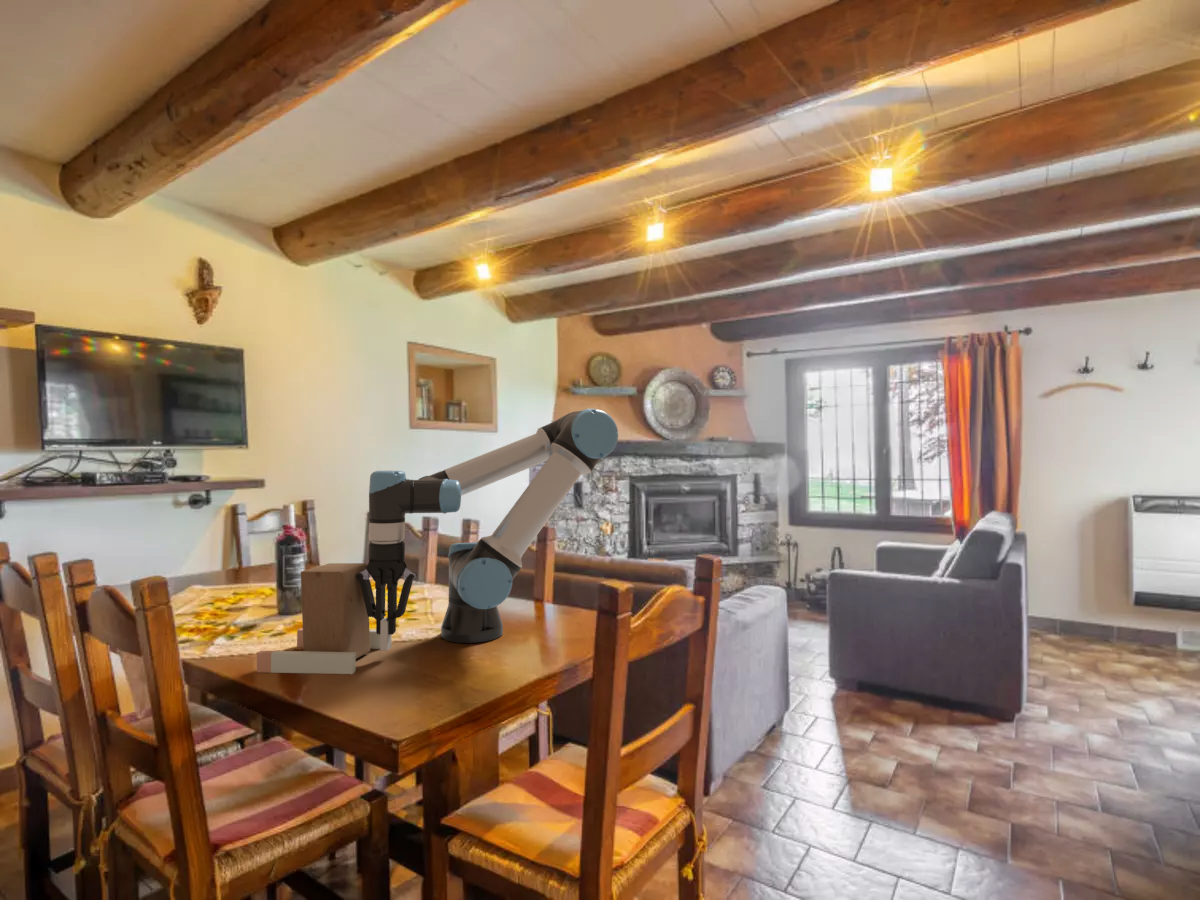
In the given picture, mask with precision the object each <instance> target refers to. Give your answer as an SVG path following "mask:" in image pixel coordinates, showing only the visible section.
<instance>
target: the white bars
mask: <svg viewBox="0 0 1200 900" xmlns="http://www.w3.org/2000/svg"><path fill="white" fill-rule="evenodd" d="M369 630H370V650H380V634H377V633H376V629H369ZM296 648H302V649H303V627H301V628H298V629H297V630H296ZM356 661H357V659H356V652H310V651H304V650H302V651H301V650H299V651H297V650H259V651H258V652H256V673H273V674H274V673H275V674H276V673H277V674H280V673H281V674H319V675H320V674H330V675H331V674H333V675H334V674H335V675H353V674H355V673H356V671H357V669H356V664H357V663H356Z"/></svg>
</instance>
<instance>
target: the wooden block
mask: <svg viewBox="0 0 1200 900" xmlns="http://www.w3.org/2000/svg"><path fill="white" fill-rule="evenodd" d="M367 565H368V563H366V562H365V563H364V562H363V563H362V562H358V563H357V562H354V563H352V562H350V563H349V562H348V563H347V562H346V563H345V562H342V563H341V562H340V563H337V562H336V563H335V562H334V563H331V562H330V563H325V564H322V565H319V566H315V567H311V568H308V569H305V570H302V571H301V572H300V589H301V591H300V592H301V615H302V616H301V617H302V628H303V648H302V649H303V651H310V652H356V660H357V659H359V658H361V657H362V656H364V655H366V654H368V653H369V652H370V651H371V649H370V630H371V629H370V617H368V615H367V611H366V606H365V602H364V598H363V593H362V589H361V584H360V583H359V581H358V580H357V578H356V575H357V574H358V573H360V572H362V571H364V570H366V569H367Z"/></svg>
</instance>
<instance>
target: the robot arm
mask: <svg viewBox="0 0 1200 900" xmlns="http://www.w3.org/2000/svg"><path fill="white" fill-rule="evenodd" d="M618 440H619V431H618V426H617V423H616V422H615V420H614V419H613V417H612V416H611V415H610V414H608V413H607V412H606V411H603V410H601V409H597V408H585V409H583V410H579V411H572V412H568V413H567V414H564V415H563V416H561V417H560V418H558V419H556V420H554V421H551V422H550V423H547V424H546V425H544V426H541V427H539V428H538V427H537V431H535V433H534V434H531V435H528V436H526V437H524V438H521V439H519V440H516V441H514V442H511V443H508V444H506V445H503V446H502V447H498V448H496V449H493V450H491V451H488V452H485V453H484V454H481V455H478V456H476V457H473V458H470V459H468V460H466V461H463V462H461V463H458V464H455V465H453V466H450V467H448V468H445V469H444V470H441V471H438V472H436V473H433V474H430V475H424V476H423V477H420V478H418V479H410V478H408V479H407V477H406V472H405V471H403V470H375V471H373V472H372V473H371V474H370V476H369V487H368V488H369V489H368V517H369V518H368V541H370V543H369V544H368V563H367V569H366V570H364V571H362V572H360V573H358V574H357V575H356V578H357V580H358V581H359V583H360V584H361V589H362V593H363V598H364V602H365V606H366V611H367V615H368V617H369V618H373V619H374V620H375V623H376V625H375V626H376V628H375V630H376V633H377V634H380V649H379V651H380V652H387V651H389V650H390V649H391V648H392V644H393V643H392V642H393V641H392V639H393V638H392V635H394V634H395V633H396V631H397V629H396V628H397V618H401V617H402V616H403V615H404V614H405V612H406V609H407V604H408V600H409V597H410V593H411V589H412V585H413V582H414V581H415V579H416V578H417V575H418V573H417V572H412V571H411V570H409V569H408V568H407V564H406V561H405V557H406V556H405V555H406V554H405V553H406V546H405V545H406V543H405V541H404V539H405V538H406V537H405V536H406V514H447V513H457V512H459V511H460V509H461V504H462V503H461V502H462V496H464V495H467V494H469V493H471V492H474V491H476V490H479V489H481V488H483V487H486V486H488V485H490V484H494V483H496V482H498V481H500V480H503V479H505V478H509V477H510V476H513V475H516V474H518V473H520V472H523V471H526V470H527V469H531V468H533V467H536V466H537V465H539V464H542V463H544V462H545V463H544V464H543V465H542V467H541V468H540V469H539V471H538V472H537V473H536V475H535V476H534V477H533V479H532V480H531V481H530V483H529V484H528V486H527V487H526V488H525V489H524V491H523V492H522V493H521V495H520V496H519V498H518V499H517V500H516V501H515V503H514V504H513V506H512V507H511V508H510V510H509V511H508V512H507V514H506V515H505V516H504V518H503V519H502V520H501V522H500V523H499V525H498V526H497V527H496V529H495V530H494V531H493V533H492V534H491V535H488V536H482V537H481V538H480V539H479V540H478V542H477V541H476V542H475V541H474V542H459V543H457V542H455V543H452V544H450V546H449V549H448V555H447V557H448V606H447V609H446V612H445V614H444V617H443V620H442V624H441V627H440V637H441V638H442V639H443V640H445V641H448V642H452V643H461V644H473V643H474V644H475V643H483V642H488V641H492V640H496V639H499V638H500V637H502V636H503V634H504V623H503V621H502V618H501V614H500V610H499V608H498V606H499V605H501V604H502V603H504V601H505V600H506V599H507V598H508V597H509V595H510V593H511V591H512V587H513V580H514V579H515V577H516V576H517V575H518V573H519V572H520V570H521V569H522V568H523V563H522V557H523V555H524V554H525V553H526V551H527V550H528V549H529V546H530V545H531V544H532V543H533V542H534V540H535V539H536V537H537V536H538V534H539V533H540V532H541V531H542V529H543V528H544V526H545V525H546V524H547V522H548V521H549V519H550V518H551V516H552V515H553V514H554V513H555V512H556V510H557V508H558V507H559V506H560V504H561V503H562V501H564V499H565V497H566V496H567V495H568V493H569V492H570V491H571V489H572V488H573V487H574V485H575V484H576V482H577V481H578V480H579V478H580V477H581V476H582V475H586V474H590V473H591V472H592V471H593V470H594V469H595V467H596V466H597V464H598V463H599V461H600V460H601V459H604V458H606V457H607V456H609V455H610V454H611V453H612V452H613V451H614V450H615V448H616V447H617V444H618ZM402 576H403V580H404V581H403V584H402V587H401V591H400V596H399V600H398V585H399V584H398V583H399V581H400V579H401V578H402ZM370 578H372V580H373V581H374V588H375V596H374V593H373V588H372V584H371V583H372V582H371V581H370ZM386 589H387V608H386ZM386 609H387V611H386ZM386 616H387V617H386Z"/></svg>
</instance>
